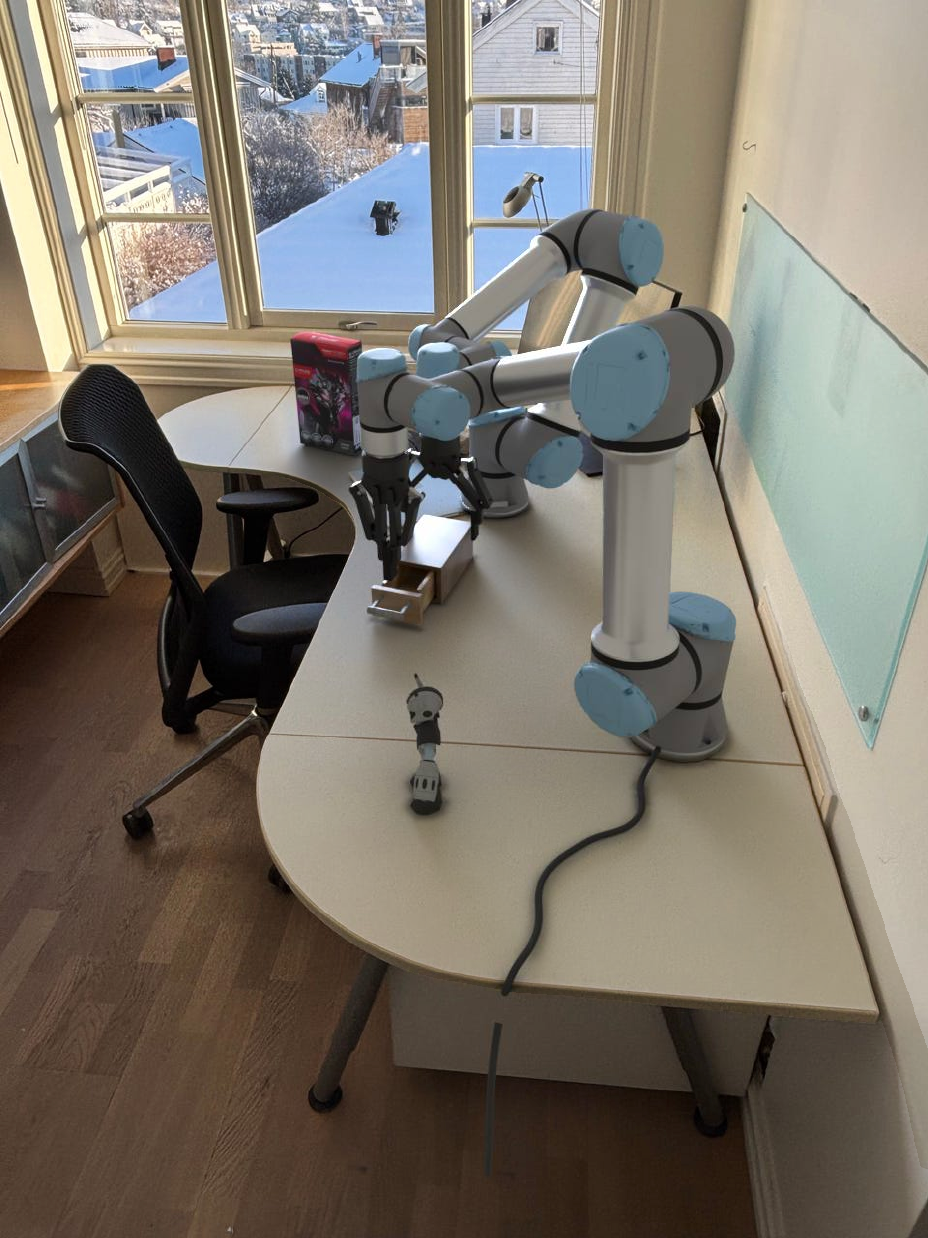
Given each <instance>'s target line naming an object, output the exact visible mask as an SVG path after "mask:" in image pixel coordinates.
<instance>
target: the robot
mask: <svg viewBox="0 0 928 1238" xmlns="http://www.w3.org/2000/svg"><path fill="white" fill-rule="evenodd" d="M413 677H414V680H415V682H416V685H417V687H416V688H415V689H413V690H412V691H411V692H410V693H408V695H407V697H406V699H405V702H406V705H407V706H406V709H407V710H408V712H409V723H410V724H411V725H412V727H413V729H414V733H416V750H417V751H418V753H419V755H420V761H419V764H418V767H417V768H416V771H415V773H414V774H413V775H412V777H411V778H410V781H409V783H410V785H411V787H412V789H413V790H412V791H413V792H412V793H413V798H412V800H411V802H410V805H409V807H410V808H411V810H413V811H414V812H415V813H416V814H419V815H423V816H424V815H431V814H432V813H435V812H437V811H439V810H440V809H441V806H442V803H443V798H442V796H443V795H442V792H441V789H440V787H441V786H442V777H441V773H440V770H439V766H438V763H437V762H436V760H435V757H436V755H437V746H441V743H442V737H441V730H440V726H439V719H440V718H441V716H440V711H441V710H442V709H443V708H444V707H443V706H444V696H443V695H442V692H441V691H439V690H438V688H435V687H433V686H431V685H424V684H423V682H422V680H421V678H420V677H419V675H418V673H414V674H413Z"/></svg>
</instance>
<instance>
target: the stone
mask: <svg viewBox="0 0 928 1238" xmlns="http://www.w3.org/2000/svg"><path fill="white" fill-rule="evenodd" d="M408 434H410V435H411V437H412V438H415V439H418V440H419V441H420V439H419V432H417V431H414V430H412V429H410V428H408ZM460 454H463V455H469V428H467V427H466V428H465V430H464V431H462V432H461V433H460Z"/></svg>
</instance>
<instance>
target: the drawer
mask: <svg viewBox="0 0 928 1238" xmlns="http://www.w3.org/2000/svg"><path fill="white" fill-rule="evenodd" d="M370 589H371V604H372V605H368V606H367V608H366V613H367V614H368V615H372V616H374V617H377V618H382V619H388V620H393V621H398V622H402V623H408V624H413V625H416V626H417V625H418V626H421V625H422V623H423V622H424V619H423V618H424V617H423V615H424V614H423V613H424V612H425V611H426V609H427V607H428V606H429V605H430V603H432V602H431V600H432V599H433V597H434V596H435V594H436V593H437V589H436V571H431V570H425V569H420V568H415V567H409V566H404V565H398V564H397V575H396V576H395V578H394V579H393V580H392V581H386V580H383V581H382V582H381V585H377V584H373V585H372V586H371V588H370Z"/></svg>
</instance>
